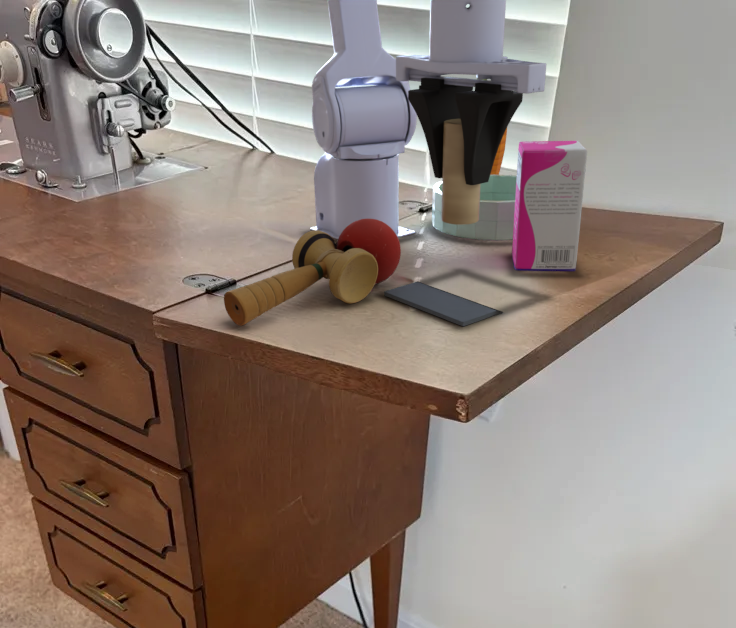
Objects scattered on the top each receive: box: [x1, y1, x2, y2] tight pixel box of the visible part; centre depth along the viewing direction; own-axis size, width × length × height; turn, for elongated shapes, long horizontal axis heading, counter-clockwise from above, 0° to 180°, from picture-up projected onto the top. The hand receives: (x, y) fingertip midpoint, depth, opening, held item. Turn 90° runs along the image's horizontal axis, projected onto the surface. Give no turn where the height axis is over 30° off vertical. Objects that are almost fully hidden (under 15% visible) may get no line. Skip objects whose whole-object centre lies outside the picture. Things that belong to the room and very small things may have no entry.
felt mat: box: [383, 281, 503, 327], centre depth 70 cm, size 10×10×1 cm
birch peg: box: [441, 119, 480, 225], centre depth 66 cm, size 3×3×8 cm
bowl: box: [431, 174, 517, 241], centre depth 89 cm, size 14×14×4 cm
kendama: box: [223, 219, 402, 327], centre depth 69 cm, size 8×6×18 cm
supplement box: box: [511, 140, 588, 272], centre depth 75 cm, size 6×6×12 cm
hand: (461, 179), depth 66 cm, fingers closed on birch peg, 3 cm apart
